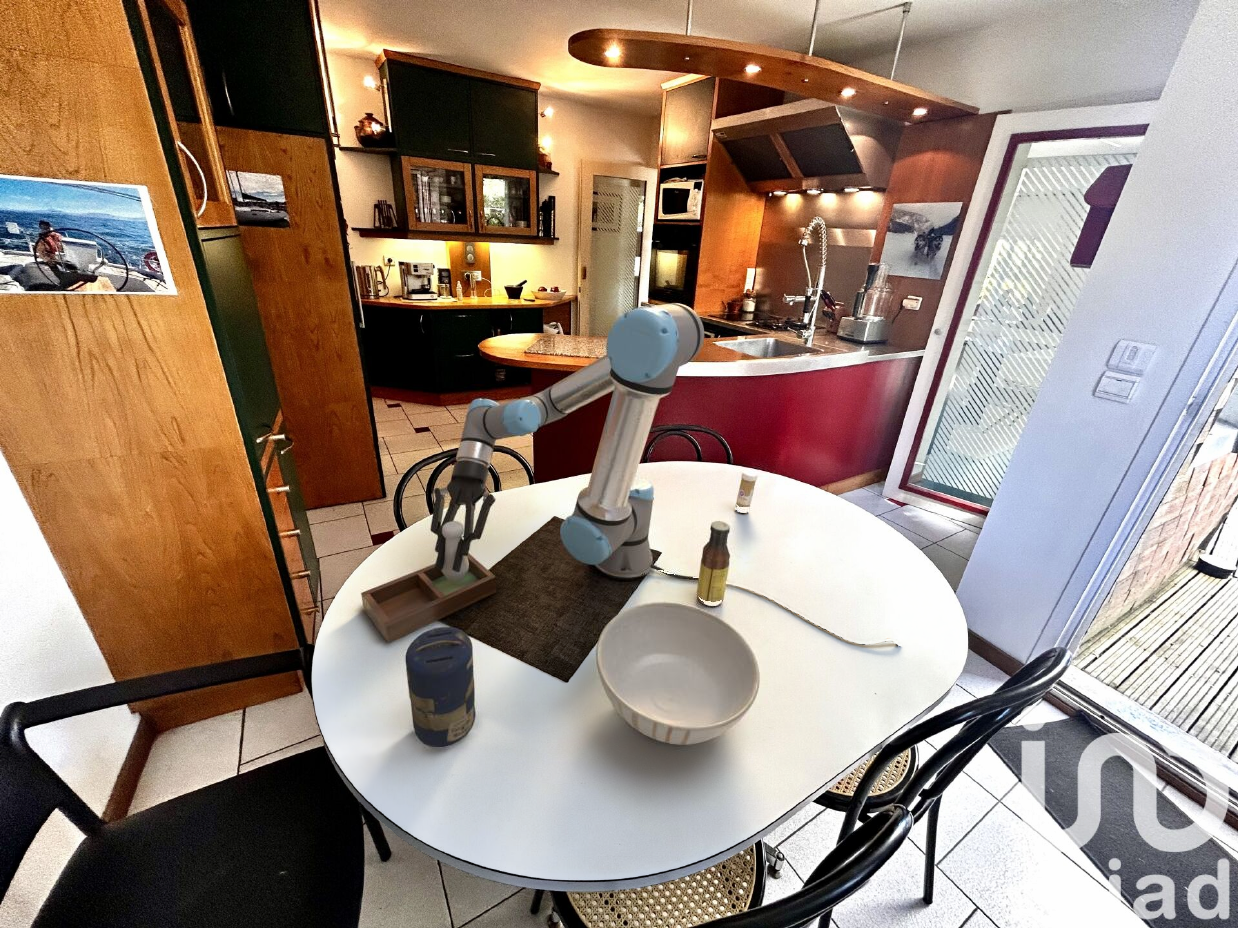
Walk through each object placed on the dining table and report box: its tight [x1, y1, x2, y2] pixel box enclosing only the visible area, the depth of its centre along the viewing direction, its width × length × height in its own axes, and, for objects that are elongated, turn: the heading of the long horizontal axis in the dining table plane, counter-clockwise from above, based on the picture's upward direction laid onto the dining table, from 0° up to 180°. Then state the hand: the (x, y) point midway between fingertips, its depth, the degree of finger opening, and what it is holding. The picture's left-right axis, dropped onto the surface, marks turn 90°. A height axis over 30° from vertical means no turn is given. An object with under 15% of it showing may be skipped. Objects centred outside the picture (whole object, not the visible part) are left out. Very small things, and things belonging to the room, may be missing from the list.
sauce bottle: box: [696, 520, 731, 604], centre depth 109 cm, size 7×6×20 cm
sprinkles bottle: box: [735, 469, 758, 508], centre depth 150 cm, size 5×5×14 cm
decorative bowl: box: [595, 601, 761, 746], centre depth 83 cm, size 27×27×12 cm
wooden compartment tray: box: [360, 552, 497, 644], centre depth 104 cm, size 12×24×4 cm, turn 135°
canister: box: [405, 626, 477, 749], centre depth 76 cm, size 10×10×18 cm
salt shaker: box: [441, 520, 469, 581], centre depth 105 cm, size 6×6×13 cm
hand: (447, 569), depth 102 cm, fingers closed on salt shaker, 3 cm apart
